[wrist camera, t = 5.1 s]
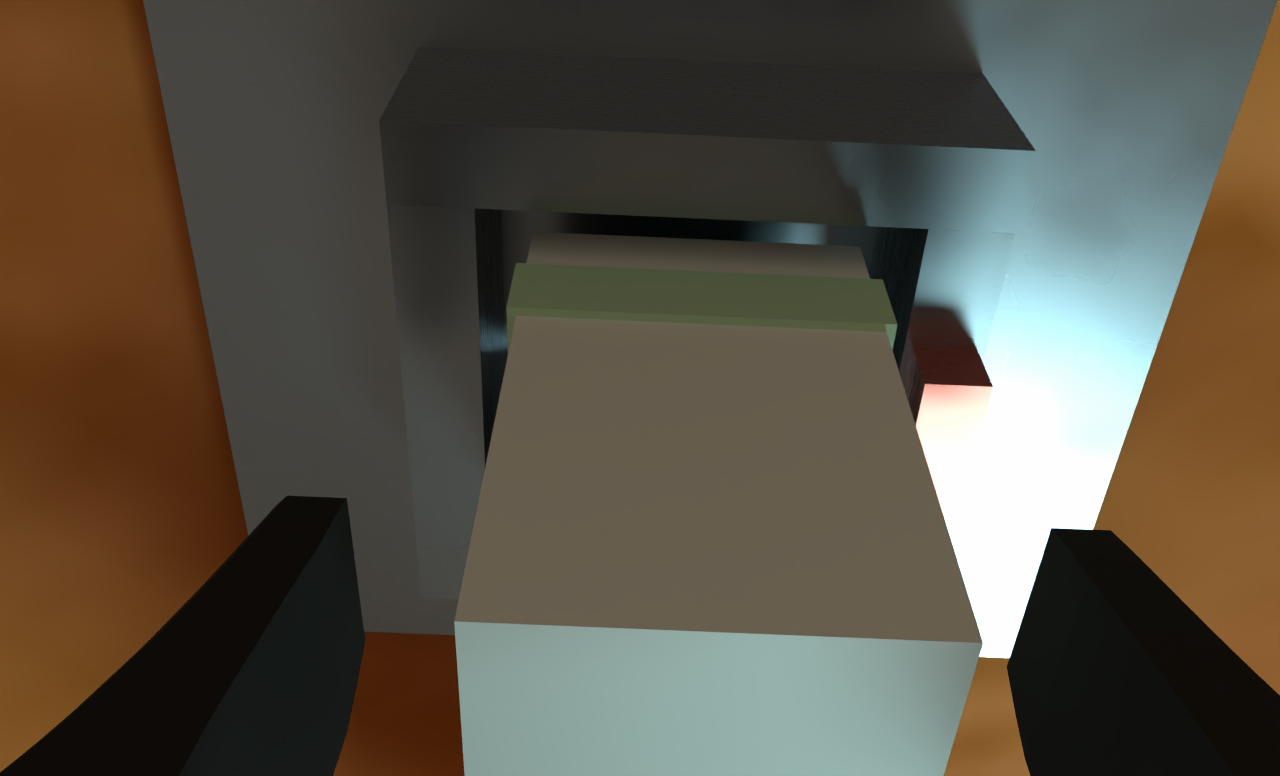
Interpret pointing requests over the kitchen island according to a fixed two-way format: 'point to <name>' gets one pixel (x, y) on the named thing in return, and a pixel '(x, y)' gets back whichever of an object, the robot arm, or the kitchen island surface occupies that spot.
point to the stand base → (689, 225)
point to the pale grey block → (707, 525)
